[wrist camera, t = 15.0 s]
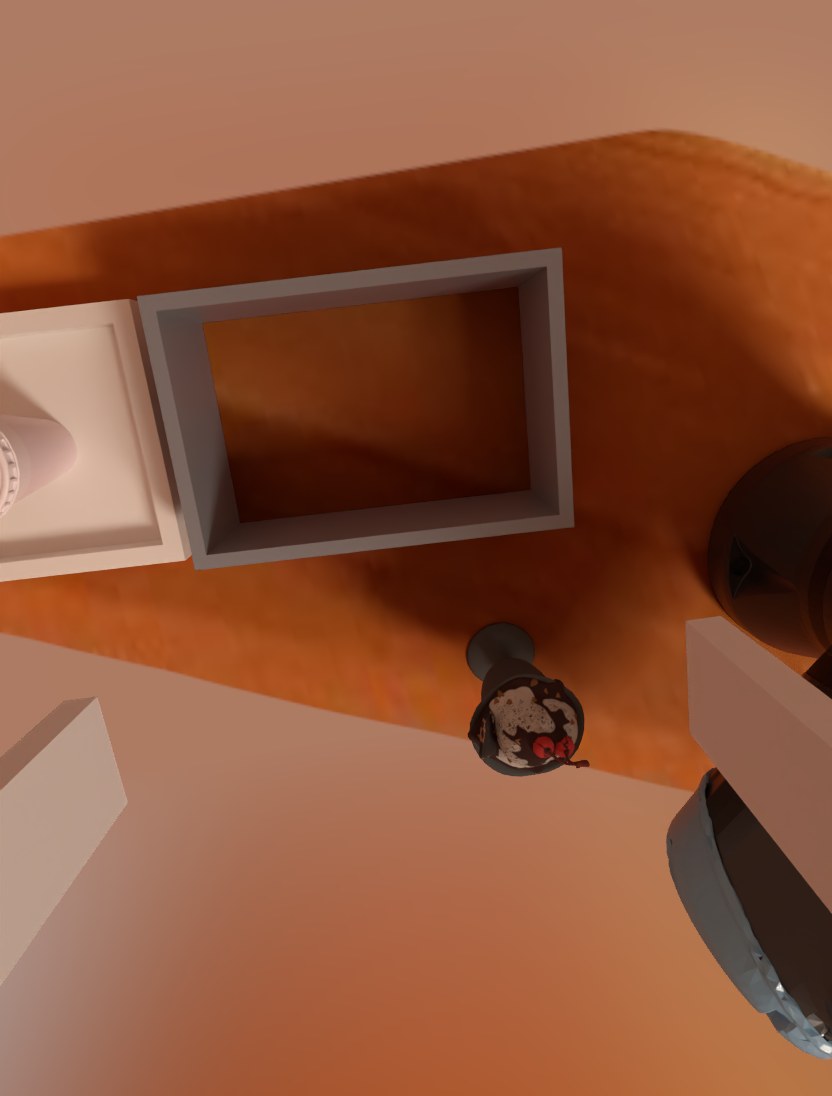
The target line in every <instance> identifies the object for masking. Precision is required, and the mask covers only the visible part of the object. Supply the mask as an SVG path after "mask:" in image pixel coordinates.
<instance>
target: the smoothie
mask: <svg viewBox="0 0 832 1096" xmlns="http://www.w3.org/2000/svg"><path fill="white" fill-rule="evenodd" d="M76 456H77V448H76V444H75V441H74V439H73V437H72V435H71V434H70V432H69V431H68V430H67V429H66V428H65V427H64V426H62V425H61V424H59V423H57V422H55V421H52V420H48V419H39V418H29V417H18V416H8V415H0V518H1V517H2V516H4V515H5V514H6V513H7V512H8V510H9V509H10V508H11V506H12V505H13V504H14V503H16V502H17V501H19V500H21V499H22V498H24V497H26V496H27V495H29V494H31V493H32V492H34V491H36V490H38V489H39V488H41V487H43V486H44V485H46V484H48V483H49V482H51V481H53V480H55V479H56V478H58V477H60V476H61V475H63V474H65V473H66V472H68V471H69V470H70V469H71V468H72V466H73V465H74V463H75V460H76Z"/></svg>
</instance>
